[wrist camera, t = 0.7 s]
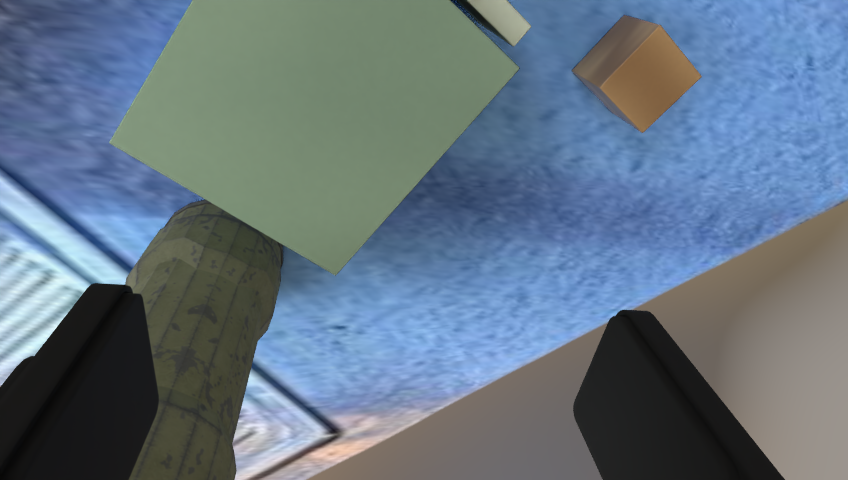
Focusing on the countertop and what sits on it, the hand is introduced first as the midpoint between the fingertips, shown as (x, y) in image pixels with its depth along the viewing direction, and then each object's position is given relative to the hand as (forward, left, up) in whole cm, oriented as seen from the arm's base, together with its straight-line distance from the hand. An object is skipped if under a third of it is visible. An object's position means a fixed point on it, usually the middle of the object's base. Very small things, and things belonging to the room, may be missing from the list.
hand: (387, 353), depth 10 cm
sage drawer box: (+1, -2, -25) cm, 26 cm away
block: (-11, +13, -25) cm, 30 cm away
